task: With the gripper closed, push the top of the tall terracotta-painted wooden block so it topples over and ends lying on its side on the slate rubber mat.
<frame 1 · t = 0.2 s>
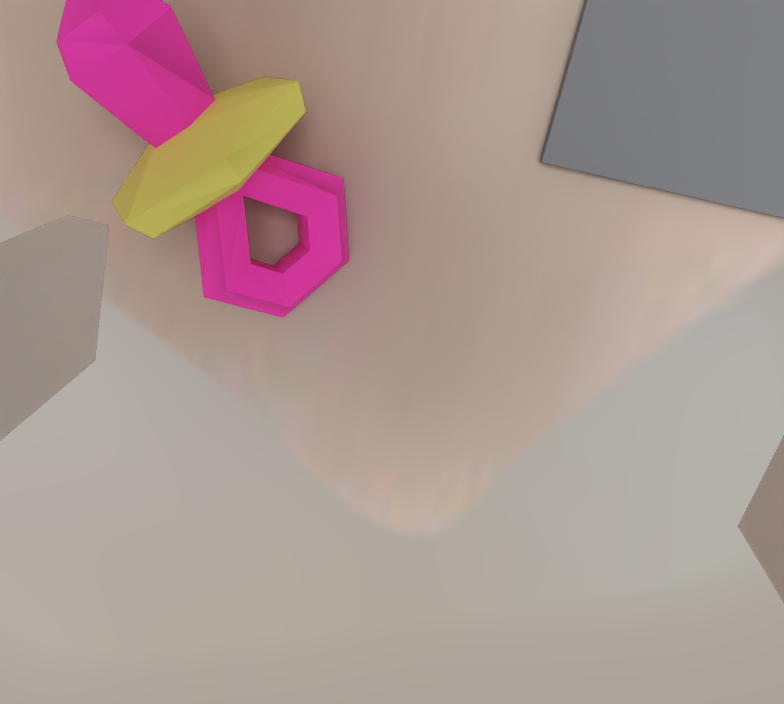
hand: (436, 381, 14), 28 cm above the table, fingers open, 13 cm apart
toy: (236, 148, 41), on the table
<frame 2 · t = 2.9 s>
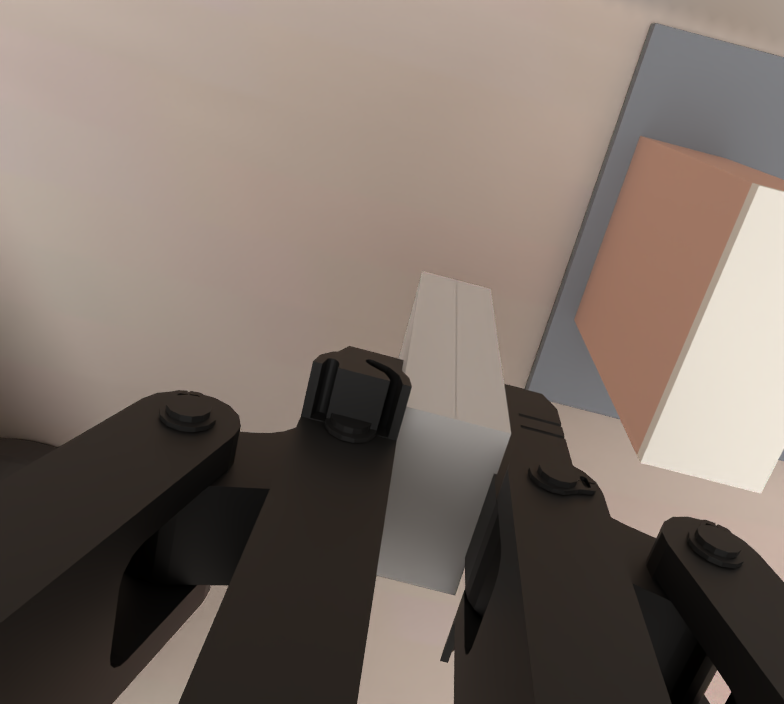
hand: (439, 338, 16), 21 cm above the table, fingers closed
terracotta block: (646, 242, 35), point 1 cm above the table, touching slate mat
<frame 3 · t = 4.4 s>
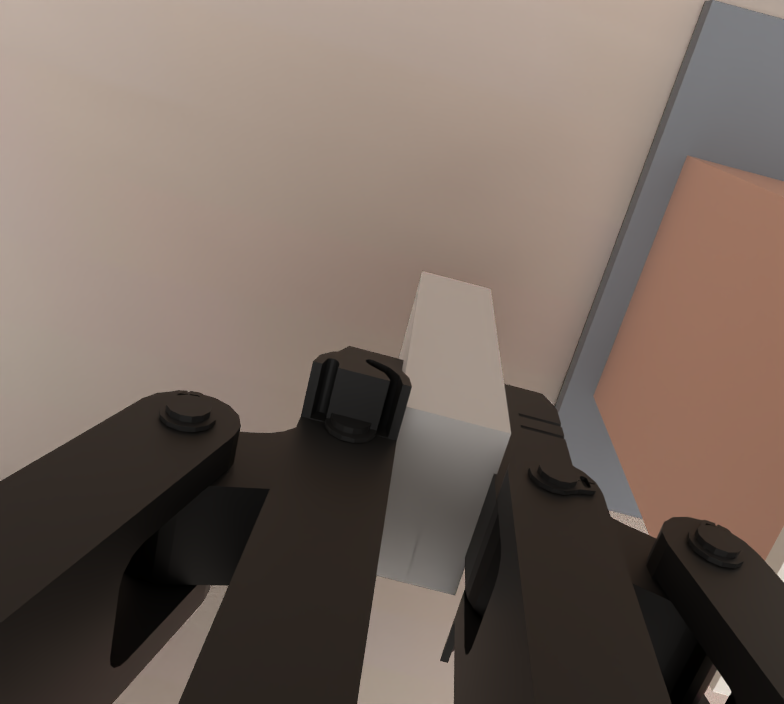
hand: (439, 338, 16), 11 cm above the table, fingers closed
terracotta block: (692, 298, 26), point 1 cm above the table, touching slate mat
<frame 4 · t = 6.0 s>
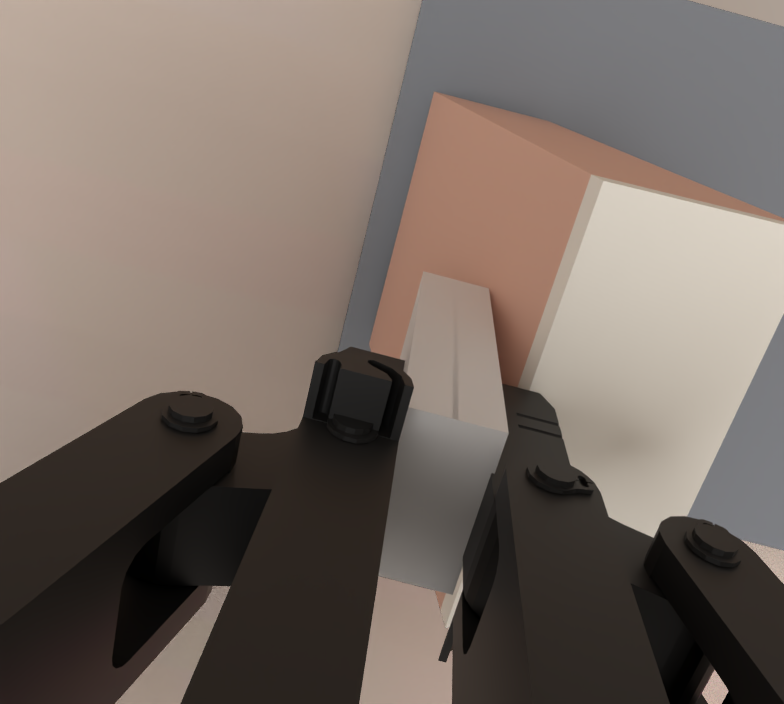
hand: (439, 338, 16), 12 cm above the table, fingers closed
slate mat: (663, 285, 28), on the table
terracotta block: (454, 237, 26), point 1 cm above the table, tilted 12°, touching gripper, slate mat
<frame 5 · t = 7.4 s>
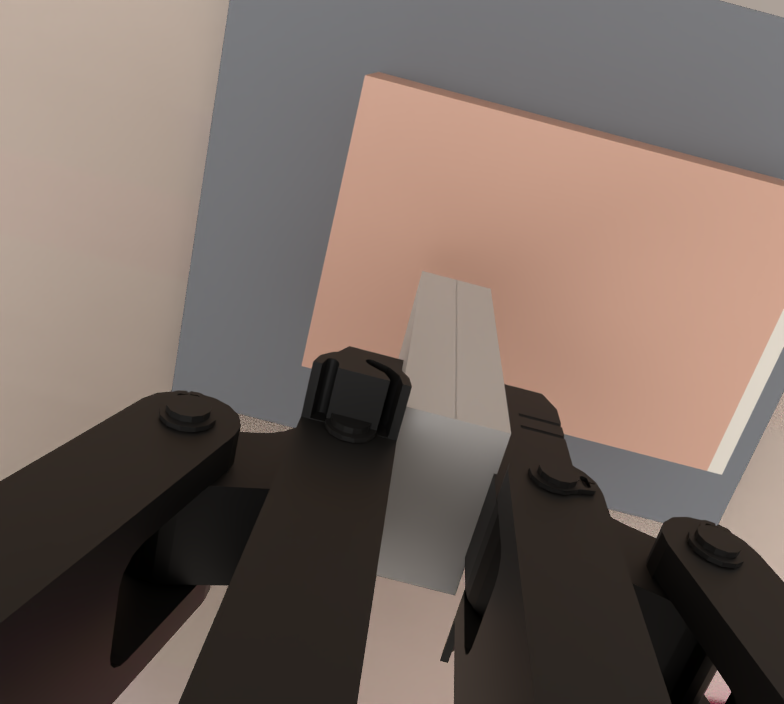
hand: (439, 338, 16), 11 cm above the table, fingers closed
slate mat: (510, 243, 27), on the table
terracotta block: (340, 217, 24), point 3 cm above the table, tilted 90°, touching slate mat
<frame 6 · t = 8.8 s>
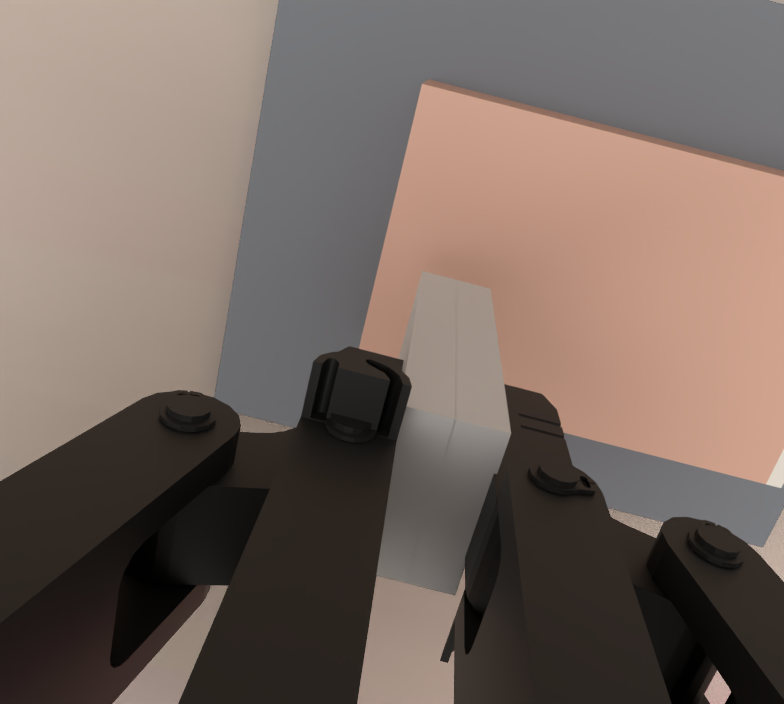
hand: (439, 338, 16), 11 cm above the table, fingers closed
slate mat: (559, 252, 26), on the table
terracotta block: (390, 227, 24), point 3 cm above the table, tilted 90°, touching slate mat
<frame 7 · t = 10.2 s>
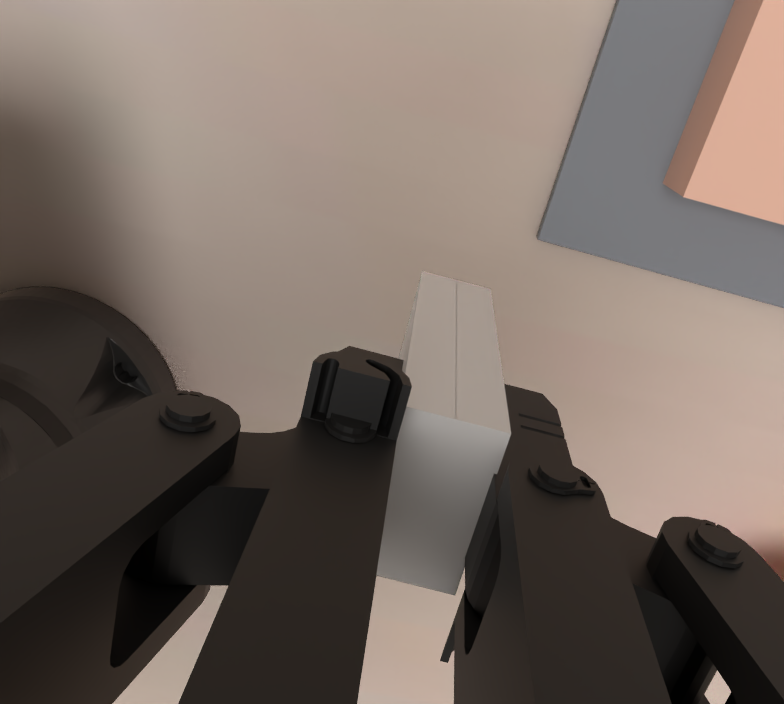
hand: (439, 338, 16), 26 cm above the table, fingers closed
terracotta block: (710, 95, 35), point 3 cm above the table, tilted 90°, touching slate mat
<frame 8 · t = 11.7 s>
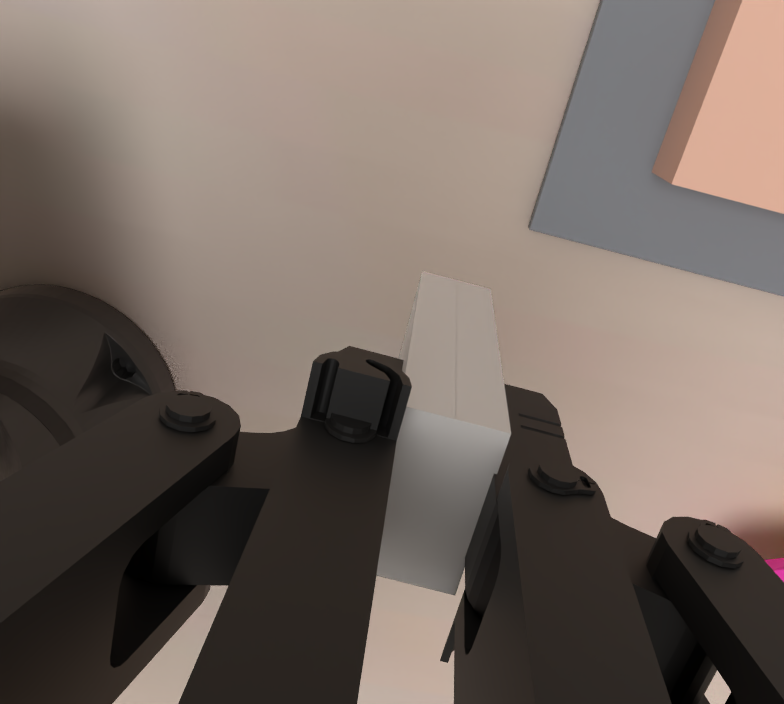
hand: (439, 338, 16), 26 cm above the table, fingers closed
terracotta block: (696, 84, 36), point 3 cm above the table, tilted 90°, touching slate mat
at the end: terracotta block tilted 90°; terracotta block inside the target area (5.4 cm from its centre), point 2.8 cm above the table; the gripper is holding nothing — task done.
